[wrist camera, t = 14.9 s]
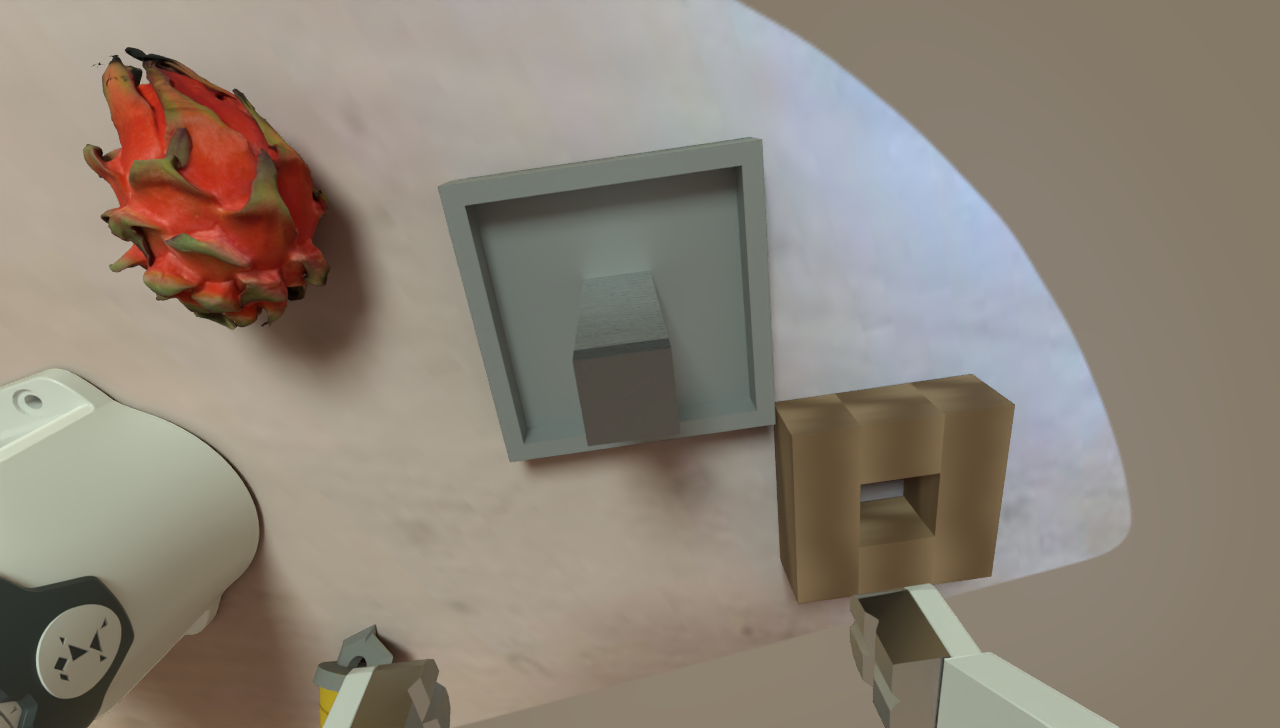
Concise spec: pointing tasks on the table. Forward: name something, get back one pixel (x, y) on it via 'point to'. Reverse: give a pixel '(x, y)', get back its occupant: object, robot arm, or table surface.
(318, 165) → the table surface
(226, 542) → the robot arm
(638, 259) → the tray
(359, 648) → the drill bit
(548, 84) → the table surface
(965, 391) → the hitch block
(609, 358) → the metal pin
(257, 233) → the dragon fruit
